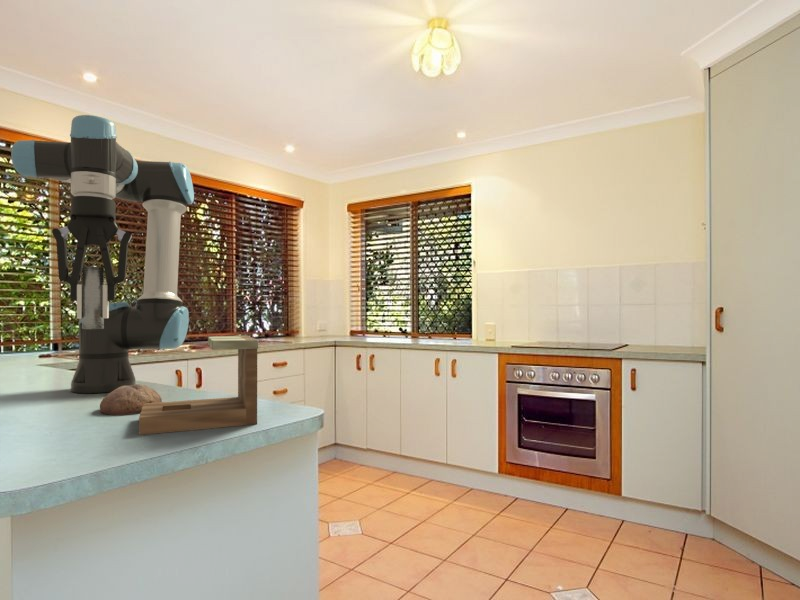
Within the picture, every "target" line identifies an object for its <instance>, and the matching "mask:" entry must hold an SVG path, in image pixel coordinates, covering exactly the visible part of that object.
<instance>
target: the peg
mask: <svg viewBox="0 0 800 600" xmlns="http://www.w3.org/2000/svg"><path fill="white" fill-rule="evenodd" d="M81 277H82V282H81V283H82V284H81V285H82V329H104V318H103V285H105V270H104V266H83V267H82V273H81Z"/></svg>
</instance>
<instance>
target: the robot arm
mask: <svg viewBox="0 0 800 600" xmlns="http://www.w3.org/2000/svg"><path fill="white" fill-rule="evenodd" d="M70 125H71V127H70V134H69V137H70V142H67V141H65V142H64V141H49V140H35V139H29V140H28V139H27V140H26V139H23V140H22V139H21V140H20V139H19V140H17V141H15V142H14V144H13V145H12V148H11V150H10V151H11V153H10V154H11V163H12V166H13V168H14V169H15V171H16V172H17V173H18V175H20V176H22V177H25V178H34V179H38V178H40V179H51V180H55V181H59V182H64V183H69V184H70V193H71V195H72V197H71V198H70V218H69V221H68V223H67V224H66V225H67V226H64V227H61V228H52V230H51V233H52V235H53V238H54V239H55V241H56V242H55V243H56V254H57V255H56V258H57V271H58V279H59V280H60V281H62V282H66V283H68V284H69V286H70V294H69V295H70V297H69V298H70V300H71V302H76V320H77V319H78V364H77V365H76V369H75V371H74V374H73V377H72V379H71V382H70V392H72V393H76V394H99V393H100V394H101V393H111V392H112V391H114V390H115V389H117V388H119V387H121V386H129V385H135V384H137V383H136V377H135V374H134V372H133V367H132V365H131V361H130V360H129V359H130V358H129V351H130V350H131V351H133V350H162V351H163V350H169V349H171V350H173V349H178V348H179V347H181V346H182V345H183V343H184V342H185V340H186V337H187V334H188V329H189V322H190V319H189V316H190V313H189V312H190V311H189V309H188V308H187V307H186V306H183V303H184V302H183V300H182V299H181V298H180V297H179V296H178V285H179V284H178V283H179V282H178V281H179V261H180V259H179V258H180V243H181V242H180V240H181V222H182V221H181V218H182V215H183V214H185V213H186V212H187V209H188V205H191V204H194V201H195V191H194V184H193V181H192V176H191V173H190V170H189V168H188V166H187V165H186V164H184V163H183V162H182V163H181V162H172V161H154V160H153V161H152V160H151V161H149V160H136V159H135V157H134V156H133V155H132V154H131V152H129V151H128V150H126V149H125V148H124V147H122V146H121V144H119V143H118V142H117V138H118V135H117V132H116V131H117V130H116V125H115V124H114V122H112V121H111V120H110V119H108V118H105V117H102V116H97V115H89V114H81V115H76V116H75V117H73V118H72V120H71V124H70ZM114 199H118V200H123V201H128V202H132V203H133V202H136V203H137V202H138V203H142V207H143V208H144V209H145V210H146V212H147V223H146V226H147V227H146V241H145V258H144V259H145V260H144V273H143V274H144V277H143V293H142V294H141V295H140V296H139V297H138V298H137V299H136V304H135V305H136V306H130V304H129V302H127V301H119V302H115V300H116V286H117V284H120V283H124V282H125V281H126V278H127V277H126V276H127V265H128V264H127V263H128V253H129V252H128V249H129V244H130V242H131V240H132V238H133V236H132V235H133V234H131V232H129V231H124V230H122V229H120V228H119V226H118V225H117V221H116V218H117V217H116V215H117V214H116V211H117V210H116V209H117V207H116V205H117V203H116V201H115V200H114ZM69 233H71V234H72V236H73V237H74V238H75V240H77V245H76V252H75V256H74V261H73V265H72V270H71V273H69V265H68V264H69V261H68V248H67V245H68V244H67V239H68V238H69ZM116 235H117V236H118V237H117V239H118V241H119V243H120V244H119V251H118V254H119V255H118V265H117V266H118V267H117V276H115V274H114V272H115V271H114V268H113V264H112V263H113V262H112V259H111V255H110V254H111V253H110V248H109V243H110V242H111V241H112V240H113V239H114V237H115V236H116ZM91 246H96V247H99V250H100V253H101V259H102V262H103V263H102V264H103V267H104V275H105V278H106V283H107V284H104V285H103V318H104V329H82V284H81V277H82V267H84V264H85V263H84V262H85V259H86V253H87V251H88V247H91ZM69 274H70V275H69Z"/></svg>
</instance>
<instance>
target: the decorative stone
mask: <svg viewBox="0 0 800 600" xmlns="http://www.w3.org/2000/svg"><path fill="white" fill-rule="evenodd" d="M159 402H163V401H162V397H161V395H160V394H159V393H158V392H157V391H156V390H155V389H153V388H151V387H149V386H147V385H145V384H141V383H140V384H137V383H136V384H135V385H129V386H121V387H119V388H117V389H115V390H114V391H112V392H108V393H107V395H106V396H105V397H103V398H102V399H101V401H100V404H99V411H100V412H101V414H103V415H104V414H105V415H113V416H120V415H121V416H125V415H137V414H139V415H140V413H141V410H142V407H143V404H144V403H159Z"/></svg>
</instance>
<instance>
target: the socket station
mask: <svg viewBox="0 0 800 600" xmlns="http://www.w3.org/2000/svg"><path fill="white" fill-rule="evenodd" d="M207 345H208V346H209V347H210V349H212V350H213V351H227V350H237V378H238V379H237V396H233V397H232V396H231V397H230V396H229V397H217V398H207V399H206V398H205V399H204V398H202V399H192V400H191V399H190V400H177V401H176V400H175V401H162V402H159V403H144V404H143V407H142V410H141V413H139V417H138V435H139V436H140V435H153V434H163V433H174V432H175V433H176V432H185V431H186V432H187V431H196V430H205V429H218V428H227V427H228V428H230V427H238V426H249V425H250V426H251V425H257V424H258V349H259V340H258V339H256V338H254V337H251V336H250V335H227V336H226V335H219V336H217V335H215V336H213V335H212V336H211V335H210V336H207Z"/></svg>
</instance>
